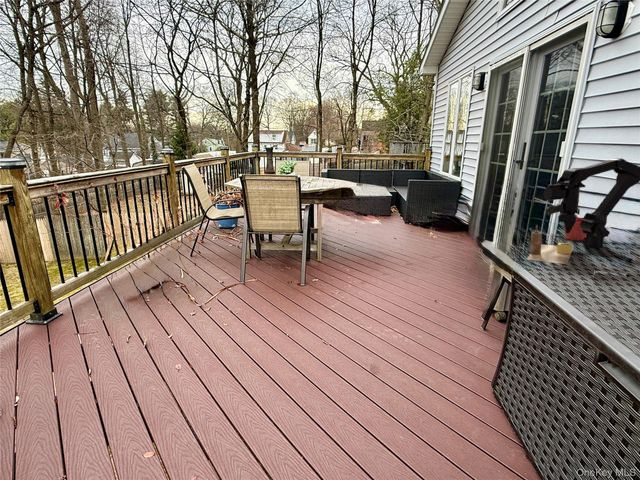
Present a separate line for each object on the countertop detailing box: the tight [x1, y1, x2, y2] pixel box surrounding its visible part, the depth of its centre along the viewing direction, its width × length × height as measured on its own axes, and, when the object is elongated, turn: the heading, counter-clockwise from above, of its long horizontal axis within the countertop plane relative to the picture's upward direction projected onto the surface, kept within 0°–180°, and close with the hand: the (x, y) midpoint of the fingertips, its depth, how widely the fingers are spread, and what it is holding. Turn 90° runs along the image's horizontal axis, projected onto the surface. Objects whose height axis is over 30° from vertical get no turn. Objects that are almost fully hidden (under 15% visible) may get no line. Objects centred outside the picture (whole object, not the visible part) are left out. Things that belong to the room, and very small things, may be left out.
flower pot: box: [563, 216, 586, 241], centre depth 168 cm, size 11×11×10 cm
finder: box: [556, 242, 574, 255], centre depth 148 cm, size 5×4×4 cm
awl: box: [530, 224, 543, 255], centre depth 148 cm, size 4×4×13 cm
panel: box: [526, 244, 574, 265], centre depth 149 cm, size 22×26×1 cm
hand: (567, 233), depth 151 cm, fingers closed
